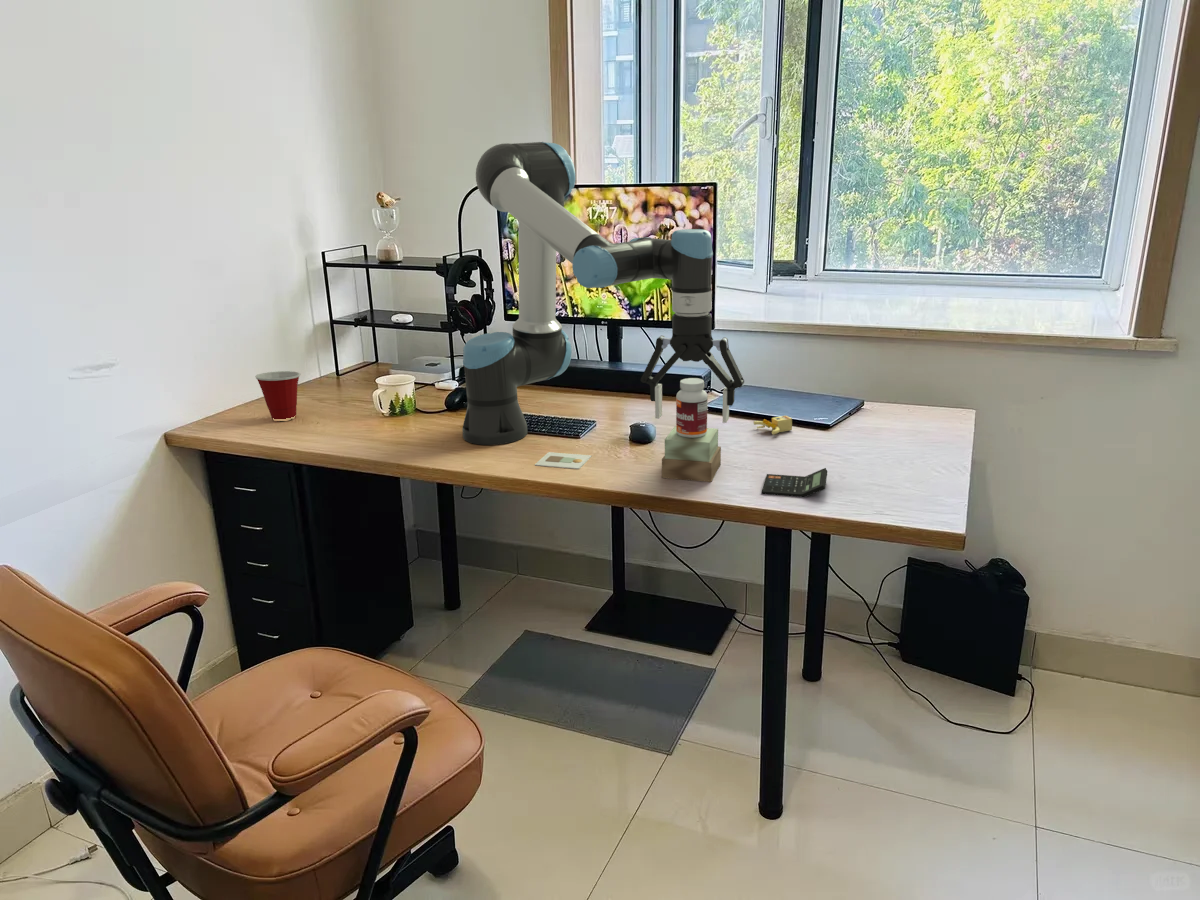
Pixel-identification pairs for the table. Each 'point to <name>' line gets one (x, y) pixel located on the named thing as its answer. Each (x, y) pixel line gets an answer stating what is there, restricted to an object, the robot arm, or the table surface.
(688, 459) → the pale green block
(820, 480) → the calculator
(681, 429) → the pill bottle
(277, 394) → the plastic cup
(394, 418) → the table surface
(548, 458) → the page
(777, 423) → the character toy
